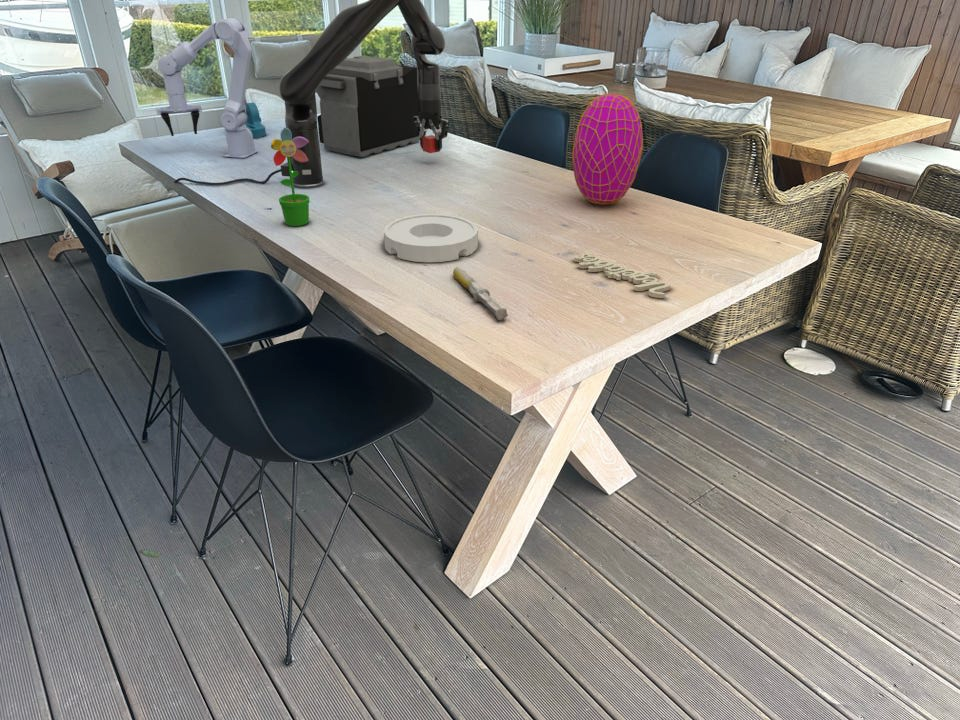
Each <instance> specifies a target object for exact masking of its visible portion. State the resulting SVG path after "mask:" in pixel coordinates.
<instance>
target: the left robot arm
mask: <svg viewBox="0 0 960 720" xmlns="http://www.w3.org/2000/svg"><path fill="white" fill-rule="evenodd" d="M215 40H222V41H223V43H225V44H226V45H227V46H228V47H229V48H230V49H231V50H232V51H233V59H232V69H231V74H230V75H231V76H230V83H229V91H228V97H227V101H226V104H225V106H224V108H223V109H224V110H223V112H222V114H221V115H220V117H219V121H220V124H221V126H222V127H223V129H224V132H225V137H226V144H227V150H228V151H227V152H228V153H227V154H226V153H225V154H224V155H223V156H224V157H226V158H236V159H238V158H239V159H246V158H247V157H250V156H251V155H254V154H256V153H258V150H256V148H255V142H254V141H255V140H254V138H253V135H252V132H251V131H250V129H248V128H247V127H246V125H245V123H246V122H247V114H246V105H245V99H246V93H247V87H248V80H249V79H248V78H249V72H250V65H251V59H252V46H251V43H250V40H249V37H248V34H247V27H246V26H245V25H244V23H243V22H242V21H241V20H240V19H239V18H238V17H236V16H235V17H234V16H230V17H228V18H221V19H218V20H217V21H216V22H213V23H212V24H210V25H209V26H208V27H206V28H205V29H204V30H203V31H202V32H201V33H199V34H198V35H197V36H196V37H194V38H193V39H192V40H191V41H180V42H178V43H177V44H176V45H177V47H175V48H174V49H173V50H168V51H167V55H163V56H160V58H159V59H158V60H157V68H158V70H159V72H160V73H162V78H163V82H164V87H165V92H166V95H167V100H168V101H167V102H168V106H166V107H165V106H164V107H156V108H155V110H156V114H157V116H160V117H161V119H162V120H163V121H164V123H165V124H166V126H167V128H168V130H169V132H170V136H171V137H174V136H175V134H174V131H173V128H172V121H171V117H170V115H173V114H174V115H175V114H187V113H190V116H191V121H192V126H193V127H192V128H193V133H194V135H198V124H199V123H198V122H199V119H200V116H201V115H200V113H202V112H203V108H202V105H200V104H199V105H188V102H187V98H186V97H187V96H186V93H185V88H184V83H183V78H182V77H183V76H182V71H183V69H184V68H185V67H186V66H187V65H188V64H190V63H191V62H193V61H194V60H195V59H196V58H197V57H198V51H200V50H201V49H203V48H204V47H205V46H207V45H209V44H210V43H211V42H212V41H215Z"/></svg>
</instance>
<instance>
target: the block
mask: <svg viewBox="0 0 960 720" xmlns="http://www.w3.org/2000/svg"><path fill="white" fill-rule="evenodd" d="M436 140H437V139H436V137H435V135H432V134H431V135H426V136H424V137H423V149H422V151H423V152H425V153H428V154H435V153H439V152H440V151H441V150H440V151H436Z"/></svg>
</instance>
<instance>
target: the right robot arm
mask: <svg viewBox="0 0 960 720" xmlns="http://www.w3.org/2000/svg"><path fill="white" fill-rule="evenodd" d="M397 7H398V9H399V12H400V13H401V15H402V18H403V19H404V22H405V24H406V26H407V27H408V30H409V31H410V34H411V39H410V44H411V49H412V52H413V56H414V60H415V63H416V67H417V68H418V105H419V112H420V114H419V116H414V117H412V118H411V119H412V124H413V129H414V134H415V135H418V136H419V137H420V140H419V146H420V147H421V148H420V149H421V150H423V137H424V136H427V132H428V131H429V130H431V131H432V134H434V136H435V137H436V139H437V140H436V151H441V150H442V149H443V139H445V138H447V137H448V135H449V127H450V120H449V119H445V118H443V117H442V88H441V74H440V73H441V72H440V66H439V64H438V63H436V62H433V61H430V60H429V59H428V58H427V55H428V56H438V55H441V54H442V53H443V52H444V50H445V47H446V39H445V36H444V34H443V32H442V31H441V30H440V28H439V27H438V26H437V25H436V24H435V23H434V22H433V21H432V20H431V18H430V16H429V13H428V11H427V9H426V7H425V6H424V4H423V2H422V1H421V0H367V1H365V2H362V3H358V4H354V5H351V6H348V7H346V8H344V9H342V10H341V11H339V12H338V14H337V15H336V16H335V17H334V18H333V19H332V20H331V21H330V23H328V25H327V26H326V28H325V29H324V30H323V31H322V32H321V34H320V35H319V37H318V38H317V40H316V41H315V42H314V44H313V45H312V47H311V48H310V49H309V51H308V52H307V54H305V56H304V57H303V58H302V59H301V60H300V61H299V62H298V63H296V65H295V66H294V67H292V68H291V69H290V70H288V71H286V73H284V74H283V75H282V76H281V78H280V80H279V85H278V91H279V95H280V97H281V99H282V100H283V101H284V107H285V109H284V111H285V116H284V123H285V128H288V129H289V130H290V131H291V134H292V139H293V138H295V137H299V136H300V137H304V138H305V139H307V140H308V141H309V143H307V144H306V145H305V146H303V147H301V148H297V149H299V150H301V151H302V152H304V153H305V155H306V156H307V158H308V161H307V162H298V161H296V160H295V159H293V158H292V157H290V160H291V168H292V172H294V171H297V172H299V174H298V175H297V176H296V177H294V178H293V183H294V187H296V188H300V189H301V188H303V189H310V188H317V187H320V186H322V185H324V184H325V182H324V175H323V167H322V157H321V147H320V139H319V130H318V120H317V117H318V109H317V108H318V107H317V98H316V97H317V96H316V91H315V89H316V88H317V86H318V85H319V84H320V82H321V81H322V80H323V79H324V77H325V76H326V75H327V74H328V73H329V72H330V71H331V70H333V69H334V68H335V67H336V66H338V65H339V64H340V63H341V62H342V61H343V60H344V59H345V58H349V56H350V55H351V54H352V53H353V52H354V51H355V50H356V49H357V48H358V47H359V45H360V44H362V42H363V41H364V40H365V38H366V37H367V36H368V35H369V34H370V33H371V32H372V31H373V30H374V29H375V28H376V26H377V25H378V24H380V22H382V21H383V20H384V18H385V17H386V16H388V15H389V14H390V13H391V12H392V11H394V9H395V8H397ZM419 122H421V128H420V123H419ZM286 161H287V162H284V163H282V164H281V165H280V169H277V170H274V171H273V172H270V173H269V174H268V176H267V177H266V179H265V180H261V181H259V180H256V179H254V178H248V177H247V178H237V179H232V180H228V181H222V182H221V181H220V182H209V181H199V180H195V179H190V178H187V177H178V178H176V179H175V180H174V181H173V183H174V184H178V182H180V181H185V182H189V183H192V184H197V185H205V186H225V185H230V184H233V183H239V182H250V183H251V182H252V183H255V184H259V185H260V184H261V185H263V184H266V183H268V182H269V181H270V179H271V178H272V177H273V176H274V175H276V174H277V173H281V176H282V177H288V178H290V173H289V165H288V158H287V157H286Z"/></svg>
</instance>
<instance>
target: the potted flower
mask: <svg viewBox="0 0 960 720" xmlns="http://www.w3.org/2000/svg"><path fill="white" fill-rule="evenodd" d="M307 143H309V141H308V140H307V139H305V138H304V137H300V136H299V137H295V138H293V139H292V134H291V131H290V130H289V129H288V128H286V127H284V128H283V129H282V130H281V131H280V139H279V138H273V139H272V141H271V145H270V148H271V149H272V150H274V151H275V153H274V155H273V163H274V165H275V167H277V166H281V165H283V164H284V163H285V161H286V160H287V158H288V161H287V162H288V165H289V173H290V176H289V178H284V179H282V180H281V181H280V184H281V185H282V186H285V187H291V193H290V194H286V195H282V196H280V197H279V198H278V202H279V205H280V207H281V210H282V215H283V219H284V223H285V225H287V226H290V227H291V226H292V227H301V226H304V225H306V224H309V222H310V206H309V205H310V196H309V195H307V194H303V193H296V192H295V191H296V190H295V186H294V183H293V178H294V177H296V176H297V175H298V174H299V172H297V171H294V172H292V168H291V160H290V157H292V158H293V159H295V160H296V161H298V162H307V161H308V158H307V156H306V155H305V153H304V152H302V151H301V150H299V149H297V148H301V147H303V146H305V145H306V144H307Z"/></svg>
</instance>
